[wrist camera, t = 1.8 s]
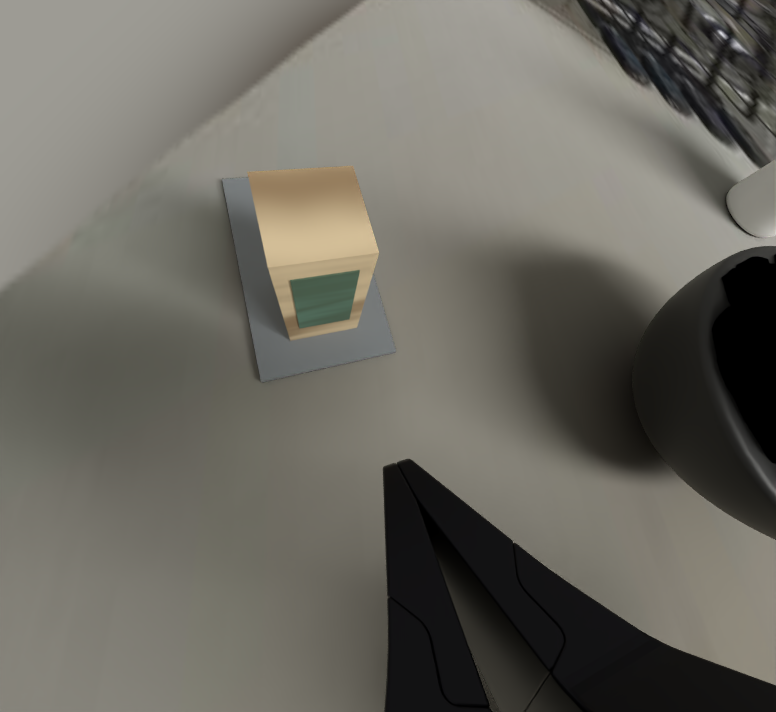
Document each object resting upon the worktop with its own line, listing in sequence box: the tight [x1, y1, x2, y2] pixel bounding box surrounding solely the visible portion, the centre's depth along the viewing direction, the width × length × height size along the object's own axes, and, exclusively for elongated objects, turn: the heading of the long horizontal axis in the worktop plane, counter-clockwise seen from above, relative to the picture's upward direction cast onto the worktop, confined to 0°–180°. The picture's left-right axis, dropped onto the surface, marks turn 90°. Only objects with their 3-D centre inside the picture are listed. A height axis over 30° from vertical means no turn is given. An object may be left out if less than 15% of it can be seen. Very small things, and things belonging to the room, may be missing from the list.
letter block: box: [247, 166, 379, 341], centre depth 19 cm, size 5×5×10 cm
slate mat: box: [222, 177, 396, 382], centre depth 25 cm, size 17×10×1 cm, turn 15°
